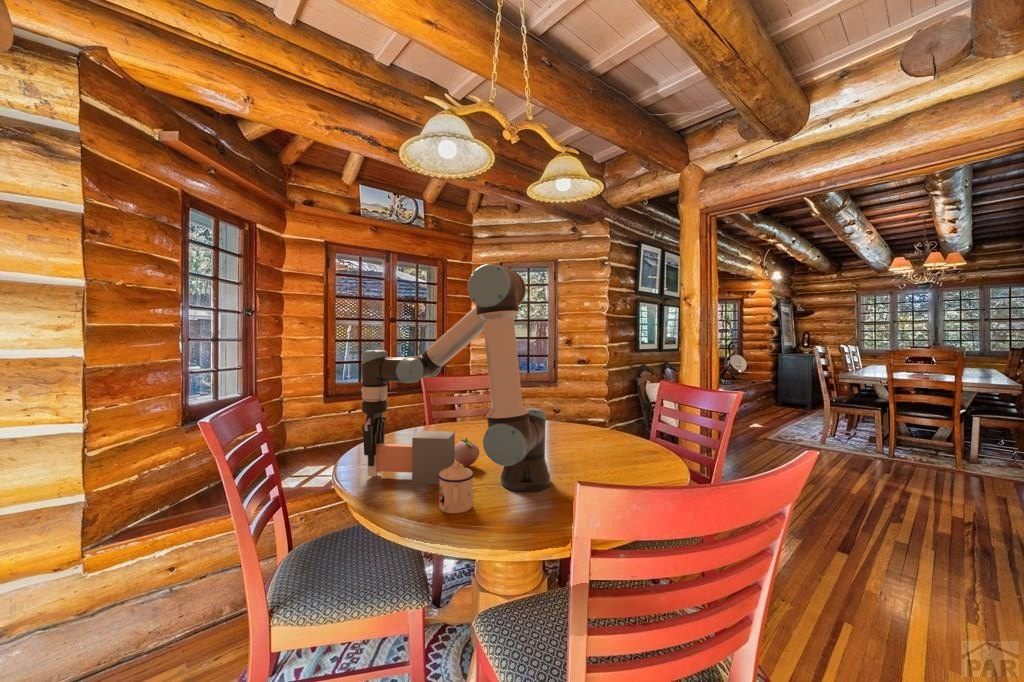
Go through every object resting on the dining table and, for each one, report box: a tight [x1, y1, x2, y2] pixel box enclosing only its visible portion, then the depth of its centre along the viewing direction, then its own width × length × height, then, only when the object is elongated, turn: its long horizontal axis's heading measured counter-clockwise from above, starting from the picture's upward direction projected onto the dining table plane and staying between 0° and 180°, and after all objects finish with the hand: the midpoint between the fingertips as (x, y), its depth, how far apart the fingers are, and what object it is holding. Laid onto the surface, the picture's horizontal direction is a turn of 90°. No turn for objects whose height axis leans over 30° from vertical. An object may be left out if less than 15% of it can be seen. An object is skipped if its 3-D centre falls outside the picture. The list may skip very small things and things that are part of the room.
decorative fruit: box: [454, 437, 480, 468], centre depth 141 cm, size 9×8×10 cm
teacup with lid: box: [438, 461, 474, 514], centre depth 108 cm, size 12×9×12 cm
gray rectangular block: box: [411, 430, 456, 486], centre depth 129 cm, size 11×9×14 cm
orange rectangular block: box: [376, 443, 412, 474], centre depth 130 cm, size 16×2×8 cm, turn 86°
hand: (374, 473), depth 130 cm, fingers closed on orange rectangular block, 2 cm apart
